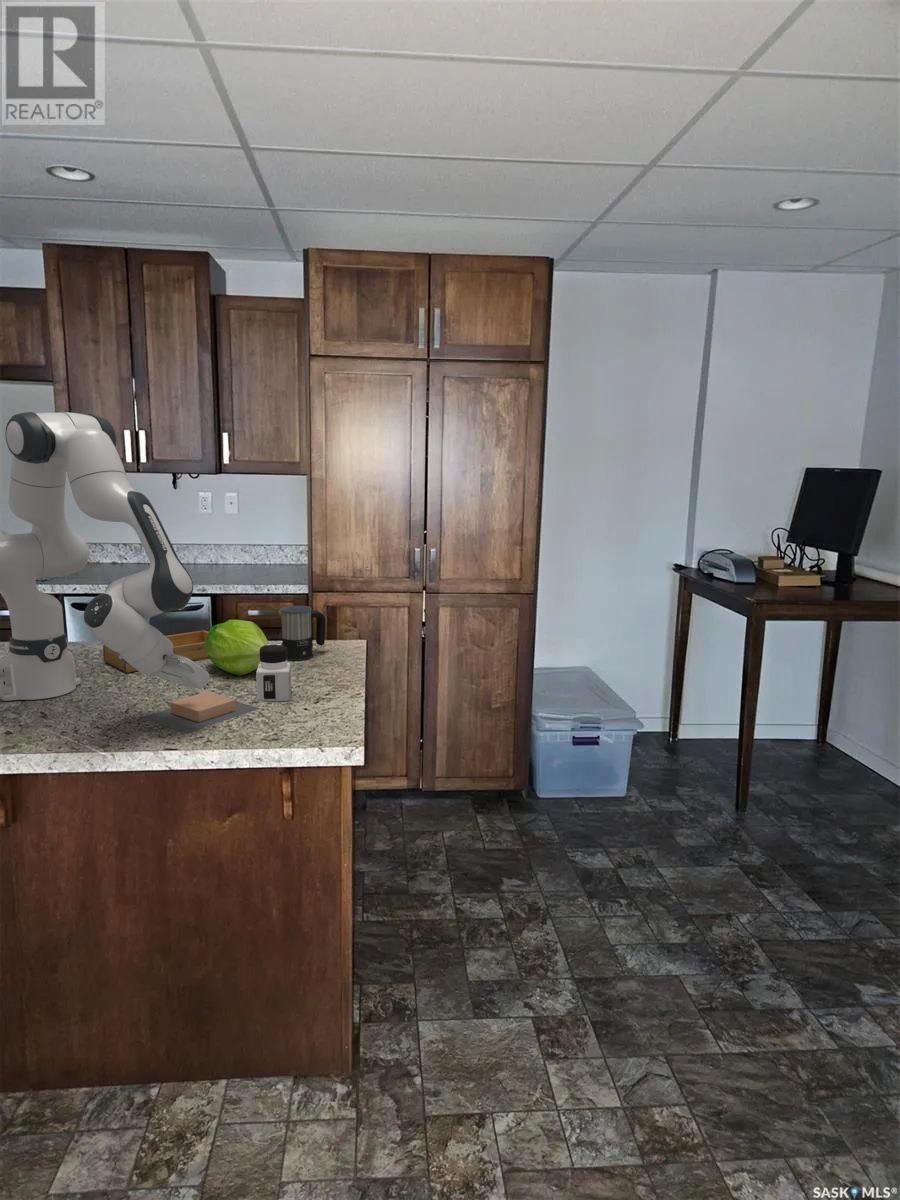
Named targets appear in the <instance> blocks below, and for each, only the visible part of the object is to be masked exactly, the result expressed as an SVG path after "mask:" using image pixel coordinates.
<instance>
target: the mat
mask: <svg viewBox="0 0 900 1200" xmlns="http://www.w3.org/2000/svg"><path fill="white" fill-rule="evenodd" d="M235 706H236V710H235V711H232V712H229V713H226V714H223V715H220V716H217V717H214V718H211V719H208V720H205V721H202V722H197V721H194V720H191V719H188V718H185V717H182V716H179V715H176V714H173V713H171V707H170V708H167V709H165V710H160V711H157V712H155V713H151V714H150V713H149V714H147V715H144V716H141V719H142V718H143V719H145V720H147V721H151V722H154V723H157V724H159V725H162V726H165V727H168V728H170V729H173V730H177V731H179V732H182V733H186V734H190V733H192V732H196V731H198V730H201V729H204V728H207V727H210V726H213V725H216V724H219V723H221V722H224V721H228V720H231V719H233V718H236V717H239V716H242V715H245V714H248V713H251V712H254V711H257V710H260V709H261V708H260V707H257V706H253V705H249V704H247V703H244V702H239V701H237V700H235Z"/></svg>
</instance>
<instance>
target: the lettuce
mask: <svg viewBox="0 0 900 1200" xmlns="http://www.w3.org/2000/svg"><path fill="white" fill-rule="evenodd" d="M265 635H266V634H265V633H264V632H263V630H262V629H261V628H260V627H259V626H258V625H257V624H256V623H255V622H253V621H248V620H241V619H228V620H226V621H225V622H222V623H217V624H215V625H212V626H211V628H210V629H209V630H208V634H207V637H206V639H205V648H206V651H207V654H208V657H209V658H208V659H209V660H210V661H211V662H212V664H213V665H214V666H216V667H217V668H219V669H220V670H223V671H224V672H227V673H230V674H233V675H234V676H235V675H236V676H243V675H246V674H250V673H252V672H253V671H255V670H257V669H258V665H259V663H260V648H261V647H262V646H264V645H268V644H269V640H268V639H267V637H266V636H265Z"/></svg>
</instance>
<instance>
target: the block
mask: <svg viewBox="0 0 900 1200" xmlns="http://www.w3.org/2000/svg"><path fill="white" fill-rule="evenodd" d="M235 701H236V699H234V698H229V697H228V696H224V695H220V694H217V693H214V692H210V691H204V692H201V693H198V694H194V695H192V696H191V695H190V696H187V697H184V698H181V699H177V700H174V701H170V703H169V704H170V708H171V713H173V714H176V715H179V716H182V717H185V718H188V719H191V720H194V721H197V722H202V721H205V720H208V719H211V718H214V717H217V716H220V715H223V714H226V713H229V712H232V711H235V710H236V706H235Z"/></svg>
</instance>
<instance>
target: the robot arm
mask: <svg viewBox="0 0 900 1200" xmlns="http://www.w3.org/2000/svg"><path fill="white" fill-rule="evenodd" d="M5 443H6V446H7V449H8V450H9V452H10V453H11V454H12V461H11V467H10V468H11V469H10V477H9V490H8V492H9V493H8V506H9V509H10V511H11V513H12V514H13V515H14V516H16V518H19V519H20V520H22V521H24V522H26V523H29V524H31V532H27V533H24V532H23V533H11V534H0V594H1V596H2V598H3V600H4V601H5V604H6V606H7V610H8V615H9V620H10V627H11V628H10V629H11V636H10V637H8V639H10V640H9V641H8V646H9V647H8V653H7V654H6V655H5V656H4V658H2V660H0V700H1V701H3V702H4V701H6V702H7V701H18V700H22V701H23V700H24V701H25V700H27V701H28V700H31V701H33V700H43V699H49V698H56V697H60V696H64V695H66V694H68V693H71V692H73V691H74V690H76V687H77V686H78V685H80V684H81V683H82V679H81V678H80V677H77V674H76V668H75V663H74V656H73V653H72V652H71V651H69V650H68V649H67V648H68V638H67V637H68V636H67V633H66V632H65V628H64V627H65V626H64V614H63V613H64V612H63V605H62V603H61V602H60V601H59V600H58V598H56V597H55V596H53V595H51V594H48V593H46V592H43V591H40V590H39V588H38V586H37V581H36V580H38V579H46V578H56V577H57V578H58V577H65V576H67V575H72V574H75V573H78V572H81V571H83V570H84V569H85V568H86V566H87V565H88V561H89V560H90V559H89V557H90V551H89V548H88V544H87V542H86V540H85V539H83V537H82V536H81V535H79V534H78V533H77V532H75V531H74V530H73V529H72V527H71V526H70V524H69V523H68V521H67V518H66V514H65V496H66V495H65V494H66V484H67V483H66V482H67V477H68V482H69V486H70V488H71V493H72V495H73V498H74V501H75V503H76V505H77V507H78V509H80V510H79V511H81V512H82V513H83V514H84V515H86V516H87V517H89V518H92V519H93V520H98V521H103V522H109V523H110V522H111V523H124V524H127V525H129V526H130V527H131V528H132V529H133V530H134V531H135V533H136V535H137V536H138V538H139V541H140V543H141V544H142V547H143V549H144V551H145V554H146V555H147V558H148V561H149V562H150V565H149V567H148V568H147V569H144V570H141V571H139V572H135V573H132V574H130V575H126V576H123V577H121V578H119V579H116V580H113V581H112V582H110V583H109V584H108V585H107V587H106V588H105V591H104V592H103V593H99V594H98V595H96V596H94V597H93V598H92V599H91V600H90V601H89V602H88V603H87V604H86V605H87V606H86V608H85V609H84V613H83V622H84V624H85V625H86V627H87V628H88V631H90V632H91V634H92V635H94V637H95V638H96V639H97V640H98V641H99V642H101V643H102V644H103V645H106V646H107V647H108V648H110V649H111V650H113V651H115V652H118V653H119V654H120V656H119V659H120V660H121V661H123V662H125V663H127V664H129V665H131V666H132V667H134V668H135V669H137V670H138V672H139V673H141V674H142V675H152V676H153V677H158V678H161V679H164V680H168V681H172V682H174V683H177V684H179V685H181V686H182V687H183V688H185V689H189V690H193V691H194V690H196V689H198V690H203V689H204V687H205V686H206V684H207V683H208V681H209V680H210V679H211V676H210V673H209V672H208V671H206V669H204V668H202V667H201V666H200V665H199V664H197V663H196V662H194V661H191V660H190V659H188V658H186V657H183V656H179V655H175V654H173V643H172V642H171V641H170V640H169V639H168V638H167V637H166V636H167V635H165V634H163V633H162V632H161V631H160V630H159V629H157V628H156V627H155V626H153V625H151V624H150V619H151V618H152V617H155V616H158V615H161V614H163V613H169V612H174V611H178V610H182V609H184V608H186V606H188V603H189V602H190V600H191V598H192V595H193V591H194V582H193V580H192V577H191V576H190V573H189V571H188V570H187V569H186V567H185V566H184V564H183V563H182V561H181V560H180V558H179V556H178V555H177V553H176V552H177V551H176V550H175V548H174V546H173V544H172V542H171V540H170V538H169V536H168V534H167V532H166V530H165V527H164V526H163V523H162V522H161V520H160V518H159V517H160V516H159V515H158V513H157V512H156V510H155V508H154V506H153V504H152V502H151V501H150V500H149V499H148V497H147V496H146V495H145V494H143V493H141V491H140V492H139V491H136V490H135V489H134V487H133V486H132V485H131V483H130V481H129V478H128V476H127V473H126V471H125V468H124V464H123V462H122V459H121V457H120V454H119V453H118V450H117V434H116V431H115V429H114V427H113V425H112V423H111V422H110V421H109V420H108V419H107V418H104V417H102V416H98V415H95V414H91V413H90V414H89V413H88V414H83V413H78V412H68V411H67V412H66V411H59V412H32V411H25V412H21V413H16V414H13V415H12V416H11V417H10V418H9V420H8V421H7V424H6V427H5Z"/></svg>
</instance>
